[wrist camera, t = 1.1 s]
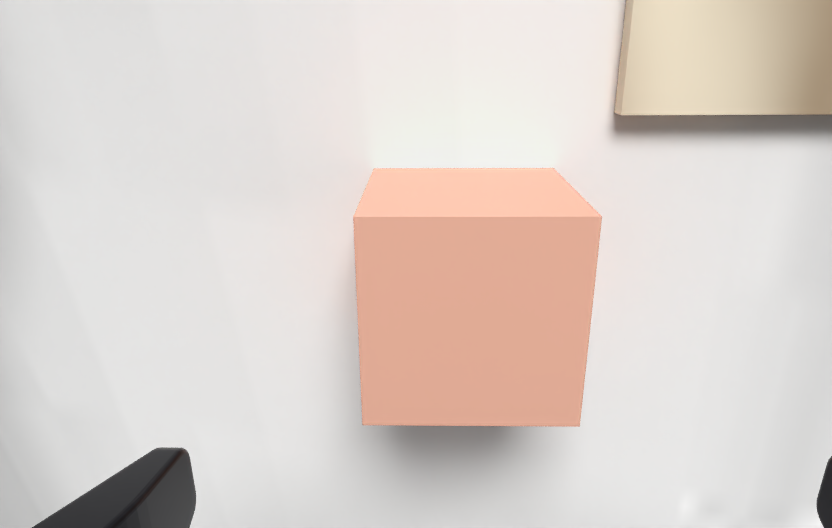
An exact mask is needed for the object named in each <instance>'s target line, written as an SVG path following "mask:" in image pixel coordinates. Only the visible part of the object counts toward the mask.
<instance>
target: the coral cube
mask: <svg viewBox="0 0 832 528" xmlns="http://www.w3.org/2000/svg"><path fill="white" fill-rule="evenodd" d="M353 221H354V243H355V266H356V289H357V311H358V334H359V356H360V379H361V402H362V424H363V425H413V426H579V427H580V418H581V409H582V399H583V390H584V381H585V371H586V362H587V352H588V343H589V333H590V324H591V315H592V305H593V296H594V286H595V277H596V268H597V258H598V249H599V239H600V230H601V221H602V216H601V215H600V214H599V213H598V212H597V211H596V210H595V209H594V208H593V207H592V206H591V205H590V204H589V203H588V202H587V201H586V200H585V199H584V198H583V197H582V196H581V195H580V194H579V193H578V192H577V191H576V190H575V189H574V188H573V187H572V186H571V185H570V184H569V183H568V182H567V181H566V180H565V179H564V178H563V177H562V176H561V175H560V174H559V173H558V172H557V171H556V170H555V169H554V168H375V169H373V172H372V174H371V176H370V179H369V181H368V184H367V186H366V188H365V191H364V193H363V195H362V198H361V200H360V202H359V205H358V207H357V209H356V212H355V214H354V216H353Z"/></svg>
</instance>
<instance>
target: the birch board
mask: <svg viewBox="0 0 832 528" xmlns="http://www.w3.org/2000/svg"><path fill="white" fill-rule="evenodd" d="M614 113H616V114H619V115H818V114H832V0H626V8H625V17H624V27H623V36H622V45H621V55H620V64H619V73H618V83H617V92H616V102H615V111H614Z"/></svg>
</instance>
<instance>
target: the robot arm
mask: <svg viewBox="0 0 832 528" xmlns="http://www.w3.org/2000/svg"><path fill="white" fill-rule="evenodd" d="M195 506H196V491H195V485H194V479H193V473H192V467H191V462H190V457H189V454H188V452H187V450H185V449H184V448H156V449H154V450H152V451H151V452H149V453H148V454H146V455H144V456H143V457H141V458H140V459H138V460H137V461H135V462H134V463H132V464H130V465H129V466H127V467H126V468H124V469H123V470H121V471H119V472H118V473H116V474H115V475H113V476H112V477H110V478H109V479H107V480H105V481H104V482H102V483H101V484H99V485H98V486H96V487H95V488H93V489H91V490H90V491H88V492H87V493H85V494H84V495H82V496H80V497H79V498H77V499H76V500H74V501H73V502H71V503H70V504H68V505H66V506H65V507H63V508H62V509H60V510H59V511H57V512H56V513H54V514H52V515H51V516H49V517H48V518H46V519H45V520H43V521H41V522H40V523H38V524H37V525H35V526H34V527H32V528H189V527H190V524H191V521H192V518H193V514H194V511H195ZM817 512H818V515H819V518H820V521H821V523H822V525H823V527H824V528H832V456H831V458H830V459H829V460H828V463H827V466H826V469H825V473H824V476H823V480H822V483H821V487H820V490H819V494H818V497H817Z"/></svg>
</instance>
